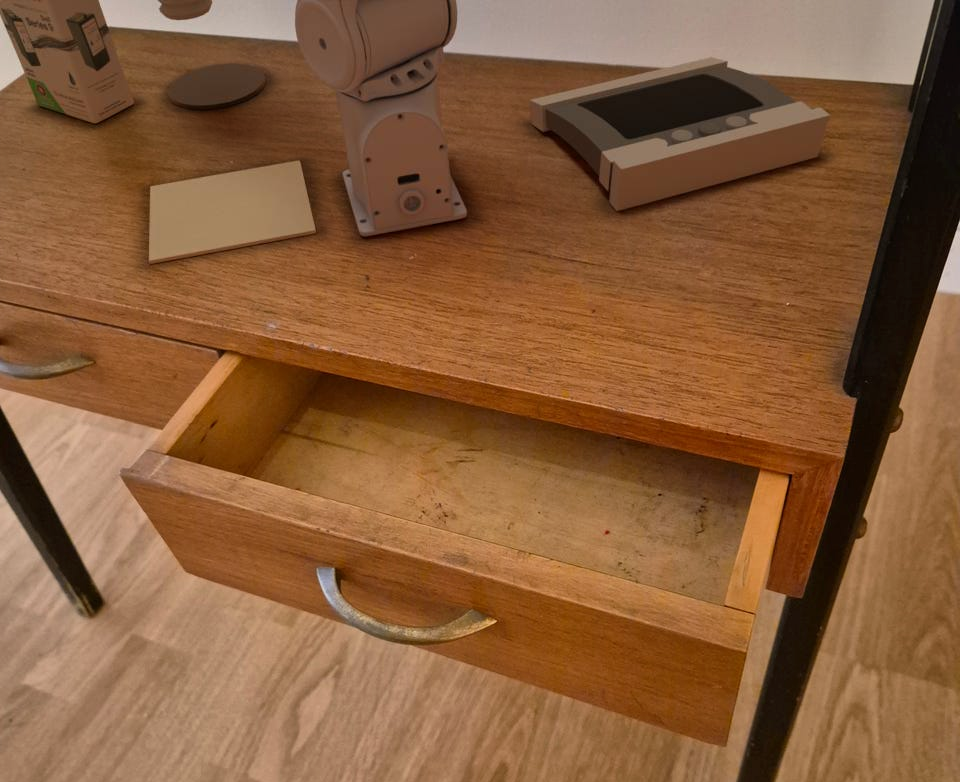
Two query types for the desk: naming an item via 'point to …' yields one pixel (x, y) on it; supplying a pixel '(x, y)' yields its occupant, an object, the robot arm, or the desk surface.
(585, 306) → the desk surface
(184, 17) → the rook chess piece
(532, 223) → the desk surface
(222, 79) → the slate coaster
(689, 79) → the alarm clock
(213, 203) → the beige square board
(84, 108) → the ink box
